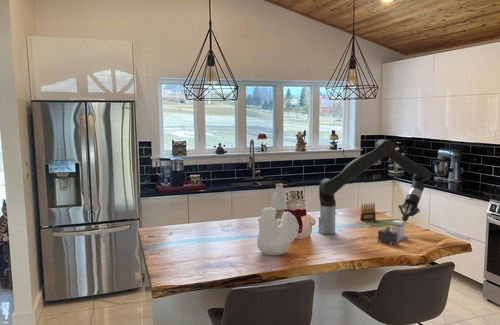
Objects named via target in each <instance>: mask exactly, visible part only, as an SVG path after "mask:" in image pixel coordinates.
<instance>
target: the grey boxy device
mask: <svg viewBox="0 0 500 325" xmlns="http://www.w3.org/2000/svg"><path fill="white" fill-rule="evenodd" d="M377 233H378V235H377V238H378V239H377V242H379V243H383V244H387V245H391V246H394V245H396V244H398V243H400V242H402V241H404V240H406V239H408V236H407V234H404V236H402V237H400V238H397V233H396V232H392V230H391V225H385V228H384V229H380V230H378V231H377Z"/></svg>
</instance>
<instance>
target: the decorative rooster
mask: <svg viewBox="0 0 500 325" xmlns="http://www.w3.org/2000/svg"><path fill="white" fill-rule="evenodd" d="M275 215H276V210H275V209H274V208H272V207H266V208H263V209H262V210H261V212H260V216H259V217H258V218H257V221H258V229H259V230H258V235H257V241H256V245H257V248H258V250H259V251H260V252H261V253H262V254H264V255H266V256H267V255H268V256H269V255H270V256H278V255H284V254H285V253H286V252H287V251H288V250H289V248H290V246H291V242H294V241H295V239H296V238H297V237H298V234H299V229H300V228H299V227H300V225H299V222H298V219H297V217H296V216H295V215H293V213H291V212H289V211H287V212H284V213H283V215H282V219H277V220H276V218H275ZM278 221H280V225H277V223H278Z"/></svg>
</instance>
